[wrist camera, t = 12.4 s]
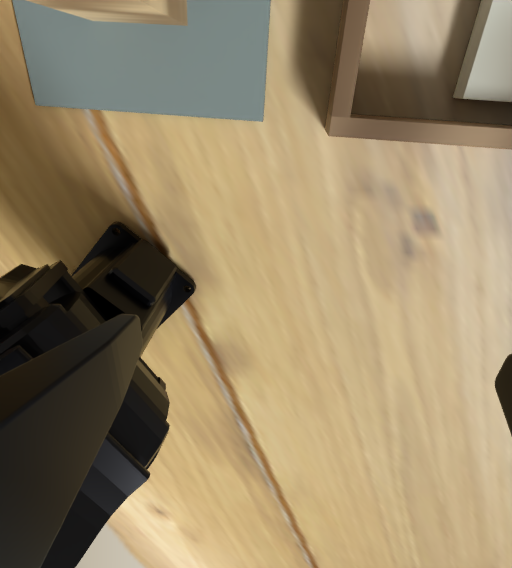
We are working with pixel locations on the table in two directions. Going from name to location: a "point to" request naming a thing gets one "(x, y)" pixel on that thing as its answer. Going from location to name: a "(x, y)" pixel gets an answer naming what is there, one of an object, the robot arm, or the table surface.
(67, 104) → the mat
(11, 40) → the table surface
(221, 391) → the table surface
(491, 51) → the port box
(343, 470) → the table surface
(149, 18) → the oak block
